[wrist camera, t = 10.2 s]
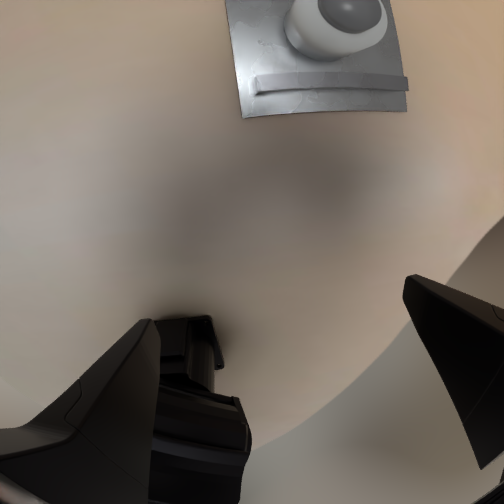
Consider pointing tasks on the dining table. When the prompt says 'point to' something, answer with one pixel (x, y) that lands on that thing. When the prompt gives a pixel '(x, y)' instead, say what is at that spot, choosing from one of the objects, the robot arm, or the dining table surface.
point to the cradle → (308, 67)
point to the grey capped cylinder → (334, 27)
